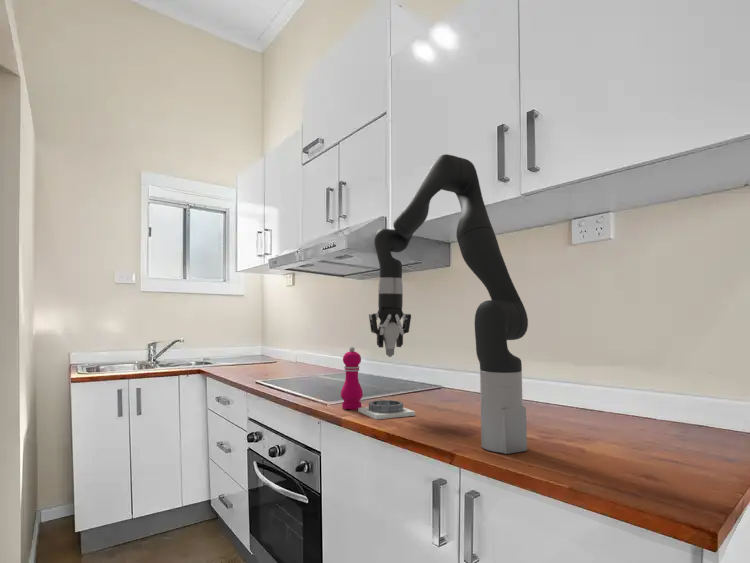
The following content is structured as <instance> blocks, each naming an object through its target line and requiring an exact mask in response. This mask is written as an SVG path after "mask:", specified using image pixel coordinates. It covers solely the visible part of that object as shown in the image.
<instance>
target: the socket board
mask: <svg viewBox="0 0 750 563" xmlns="http://www.w3.org/2000/svg"><path fill="white" fill-rule="evenodd" d="M357 410H358V411H357V412H358V413H360V414H363V415H365V416H367V417H370V418H372V419H374V420H385V419H395V418H406V417H414V416H416V411H415V410H412V409H409V408H406V407H403V411H400V412H395V413H378V412H372V411H369V406H364V407H362V406H361V408H358V409H357Z"/></svg>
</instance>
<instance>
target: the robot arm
mask: <svg viewBox="0 0 750 563" xmlns="http://www.w3.org/2000/svg"><path fill="white" fill-rule="evenodd" d="M440 191H447V192H449V193H454V194H455V195H456V197H457V200H458V201H459V206H460V211H461V212H460V217H459V221H458V223H457V227H456V241H457V244H458V246H459V250H460V253H461V256H462V258H463V261H464V263H465V265H467V267H468V268H469V269H470V270H471V271H472V273H473V274H474V275H475V276H476V277H477V278H478V280H479V281H480V282H481V283H482V284H483V285H484V287H485V289H486V290H487V292H488V295H489V297H490V299H489V300H484V301H483V302H481V303H480V304H479V305H478V307H477V308H476V311H475V313H474V315H475V316H474V336H475V337H474V338H475V350H476V357H477V360H478V362H479V363H478V364H479V378H480V386H479V387H480V389H479V390H480V431H481V432H480V433H481V434H480V435H481V436H480V439H481V441H480V442H481V443H480V444H481V448H483V449H484V450H487V451H490V452H494V453H501V454H504V455H508V454H515V453H522V452H526V451H528V437H527V435H528V434H527V431H528V430H527V407H525V405H523V403H524V402H523V372H522V371H523V369H522V368H523V366H522V360H521V358H520V357H518V356H516V355H514V354H513V353H511V352H510V350H509V348H508V341H515V340H520V339H522V338H523V337H524V336H525V335H526V333H527V330H528V328H529V320H528V314H527V310H526V308H525V306H524V303H523V301H522V299H521V297H520V295H519V293H518V291H517V289H516V287H515V285H514V282H513V281H512V278H511V276H510V273H509V271H508V268H507V265H506V261H505V260H504V257H503V255H502V252H501V249H500V245H499V242H498V238H497V236H496V233H495V231H494V228H493V226H492V222H491V220H490V217H489V214H488V210H487V208H486V205H485V202H484V199H483V195H482V190H481V184H480V180H479V177H478V173H477V170H476V167H475V165H474V163H473V162H472V161H470V160H468V159H466V158H464V157H459V156H456V155H453V154H447V153H446V154H442V155H440V156H438V157H437V158H436V159H435V161H434V162H433V163H432V164H431V166H430V168H429V169H428V171H427V173H426V174H425V176H424V178H423V180H421V182H420V185H419V186H418V188H417V190H416V191H415V192H414V195H413V197H412V198H411V200H410V201H409V202H408V204H407V205H406V206H405V207H404V208H403V210H401V212H400V213H399V214H398V215H397V216H396V217H395V219H394V221H393V229H392V228H391V229H390V228H381V229H378V231H377V232H376V233H375V235H374V239H373V240H374V248H375V252H376V256H377V260H378V264H379V281H378V304H377V305H378V306H377V307H378V310H377V312H376V313H369V314H368V318H369V319H368V320H369V325H370V332H371V333H372V334H375V336H376V344H377V346H378V348H380V349H381V348H384V335H383V333H384V329H385V328H386V327H387V325H388V323H389V322H394V323H396V324H397V325H398V326H399V328H400V334H399V336H398V338H397V340H396V344H395V347H396V348H402V346H403V344H404V335H405V334H408V333H409V332H410V326H411V321H412V320H411V319H412V314H410V313H404V311H403V302H404V301H403V297H404V296H403V295H404V294H403V292H404V290H403V265H402V264H403V263H402V261H400V260H399V259H397V258H394V257H393V255H392V253H401V252H403V251H405V250H406V249H407V248H408V246H409V244H410V241H411V239H412V237H413V235H414V233H415V232H417V230H418V229H419V228H420V227H421V226H422V225H423V224H424V223H425V221H426V219H427V218H428V216H429V210H430V203H431V201H432V199H433V197H434V196H436V194H437V193H438V192H440ZM378 319H379V320H380V321H379V323H378V321H377V320H378ZM401 319H402V321H401Z"/></svg>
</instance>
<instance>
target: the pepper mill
mask: <svg viewBox="0 0 750 563" xmlns="http://www.w3.org/2000/svg"><path fill="white" fill-rule="evenodd" d="M342 362H343V364H344V365H345V366H344V372H345V379H344V380H345V381H344V383H343V385H342V388H341V391H340V398H341V399H342V400H343V402H342V403H341V405H342V407H341V408H342V409H344V410H347V409H350V410H349V411H352V410H353V411H354V410H358V408H361V407H362V402H361V400H362V399H363V395H364V393H363V389H362V386H361V384H360V381H359V371H360V366H359V365H360V364H361V362H362V356H361V354H360V353H358V352H357V351H355V347H354V346H350V347H349V351H347V352H345V353H344V354H343V357H342Z"/></svg>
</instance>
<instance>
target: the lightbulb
mask: <svg viewBox="0 0 750 563" xmlns="http://www.w3.org/2000/svg"><path fill="white" fill-rule="evenodd" d="M399 334H400V328H399V326H398V325H397V324H396V323H394V322H389V323H388V325H387V327H386V328H385V329H384V333H383V335H384V342H383V344H384V348H385V355H386V356H387V357H389V358H391V357H392V356H394V355H395V348H396V340H397V338H398V336H399Z"/></svg>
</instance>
